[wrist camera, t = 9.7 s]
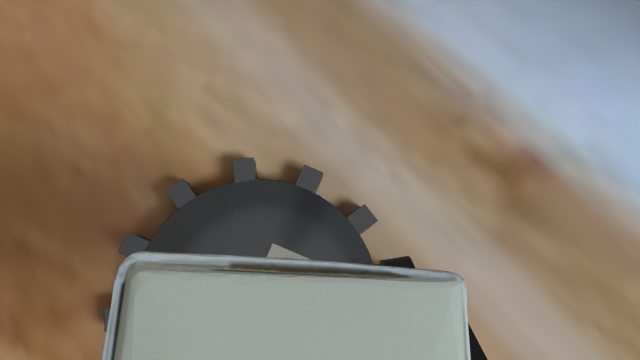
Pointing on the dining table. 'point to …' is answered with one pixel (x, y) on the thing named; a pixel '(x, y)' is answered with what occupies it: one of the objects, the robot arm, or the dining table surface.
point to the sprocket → (258, 221)
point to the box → (282, 310)
